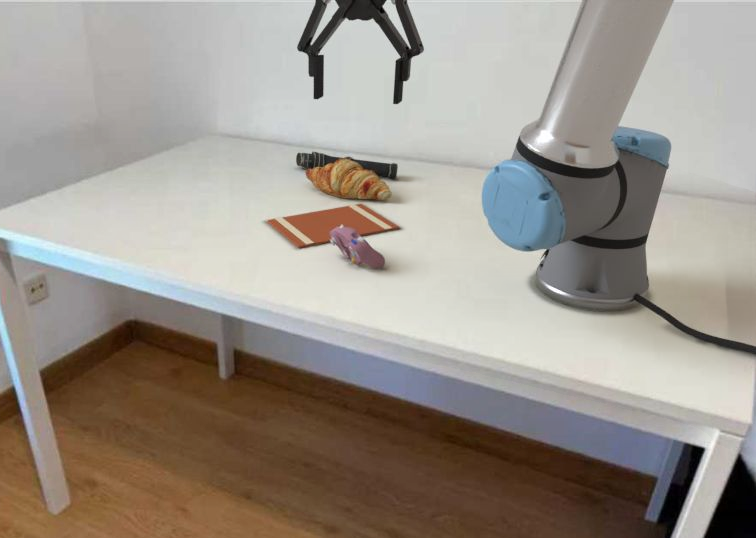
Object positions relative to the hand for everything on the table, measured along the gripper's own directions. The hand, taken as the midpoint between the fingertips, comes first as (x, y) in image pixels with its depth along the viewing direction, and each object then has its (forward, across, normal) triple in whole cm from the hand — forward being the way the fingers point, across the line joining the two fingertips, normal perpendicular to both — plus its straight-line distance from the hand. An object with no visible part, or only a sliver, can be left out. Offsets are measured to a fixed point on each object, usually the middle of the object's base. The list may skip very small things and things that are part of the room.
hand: (357, 100), depth 113 cm
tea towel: (+22, +4, 0) cm, 23 cm away
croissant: (+22, +8, -18) cm, 30 cm away
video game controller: (+23, -5, +14) cm, 27 cm away
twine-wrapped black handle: (+22, +12, -31) cm, 40 cm away
